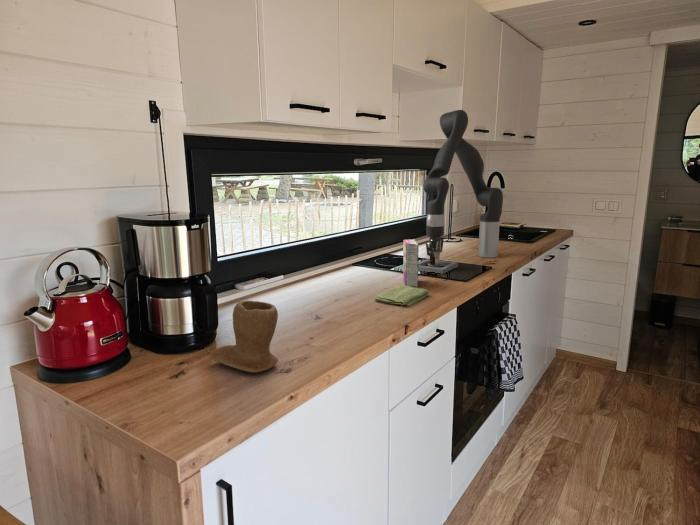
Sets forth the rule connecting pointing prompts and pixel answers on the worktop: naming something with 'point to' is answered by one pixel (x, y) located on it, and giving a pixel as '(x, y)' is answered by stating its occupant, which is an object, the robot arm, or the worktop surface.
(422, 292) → the washcloth
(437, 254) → the cord spool
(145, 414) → the worktop surface
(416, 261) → the candy bar box
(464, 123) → the robot arm
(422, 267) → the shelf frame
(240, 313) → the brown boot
